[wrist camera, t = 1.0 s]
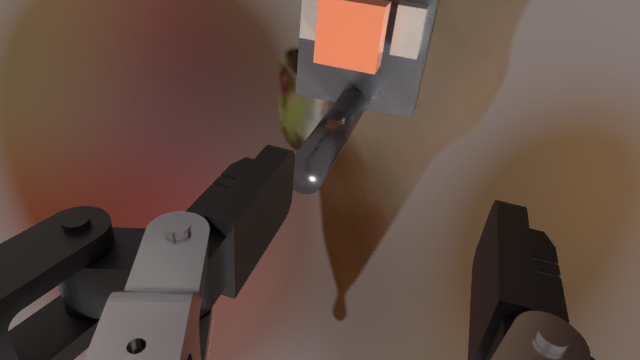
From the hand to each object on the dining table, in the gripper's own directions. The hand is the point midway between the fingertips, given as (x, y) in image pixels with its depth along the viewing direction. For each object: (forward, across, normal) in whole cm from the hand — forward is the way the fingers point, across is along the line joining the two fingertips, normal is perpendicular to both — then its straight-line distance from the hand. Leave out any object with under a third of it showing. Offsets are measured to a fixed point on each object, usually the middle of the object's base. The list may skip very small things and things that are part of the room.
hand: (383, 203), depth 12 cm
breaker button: (+24, +6, +1) cm, 25 cm away
